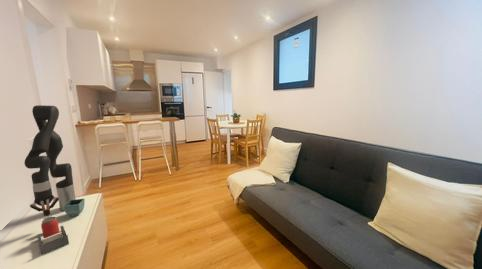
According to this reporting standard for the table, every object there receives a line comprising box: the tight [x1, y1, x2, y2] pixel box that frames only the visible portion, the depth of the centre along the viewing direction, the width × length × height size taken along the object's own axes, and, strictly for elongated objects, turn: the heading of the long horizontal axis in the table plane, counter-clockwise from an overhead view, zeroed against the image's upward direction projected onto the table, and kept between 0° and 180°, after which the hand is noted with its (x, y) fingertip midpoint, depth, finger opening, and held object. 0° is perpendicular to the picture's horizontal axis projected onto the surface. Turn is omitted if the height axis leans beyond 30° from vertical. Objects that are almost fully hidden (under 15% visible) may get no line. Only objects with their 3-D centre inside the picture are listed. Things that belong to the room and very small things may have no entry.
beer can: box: [41, 216, 61, 239], centre depth 111 cm, size 7×7×12 cm
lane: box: [37, 225, 70, 256], centre depth 109 cm, size 18×11×5 cm, turn 49°
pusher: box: [41, 231, 63, 245], centre depth 108 cm, size 1×8×4 cm, turn 139°
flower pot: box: [63, 198, 86, 217], centre depth 135 cm, size 9×9×9 cm
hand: (47, 215), depth 120 cm, fingers closed
